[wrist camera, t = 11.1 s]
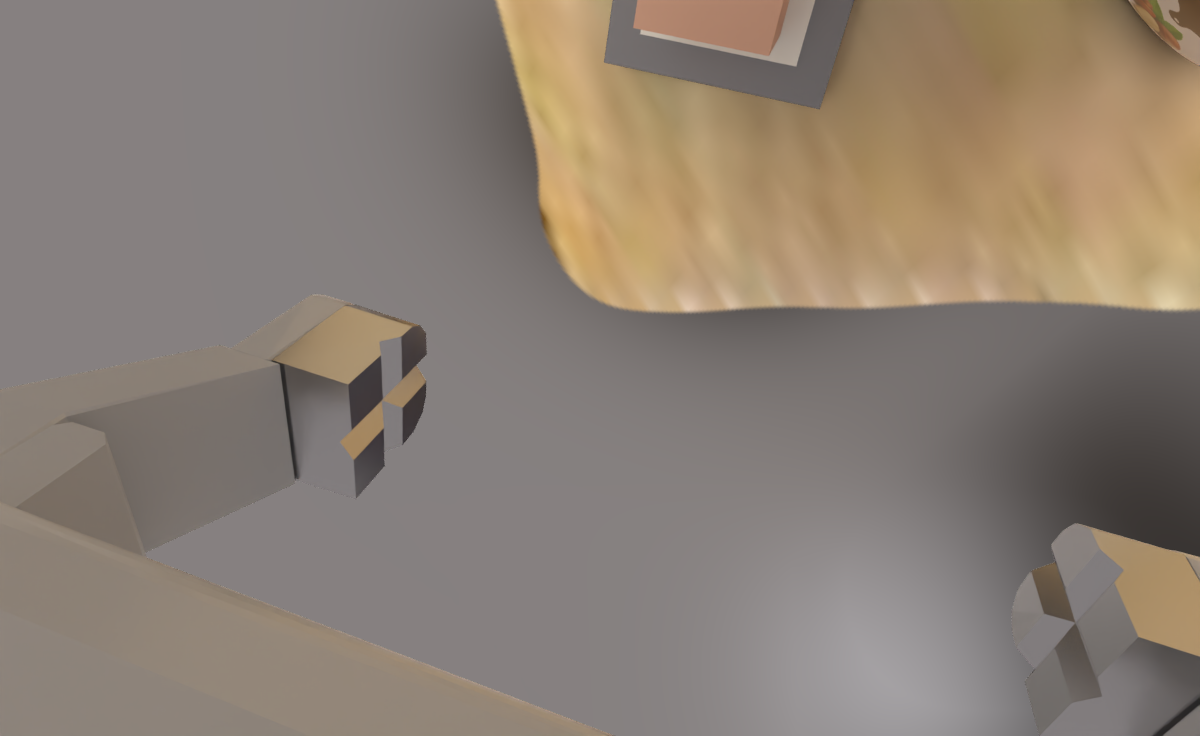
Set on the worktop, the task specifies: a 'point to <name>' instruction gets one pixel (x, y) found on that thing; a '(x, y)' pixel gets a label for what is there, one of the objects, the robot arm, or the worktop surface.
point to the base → (741, 53)
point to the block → (716, 21)
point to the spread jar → (1174, 23)
